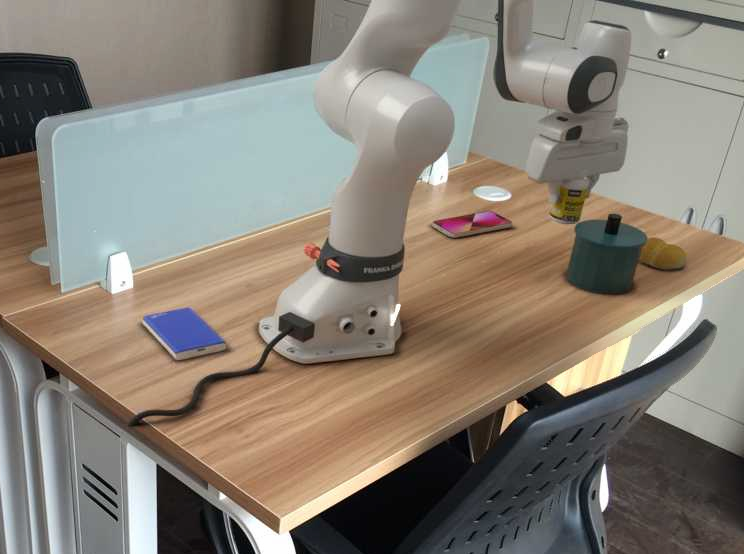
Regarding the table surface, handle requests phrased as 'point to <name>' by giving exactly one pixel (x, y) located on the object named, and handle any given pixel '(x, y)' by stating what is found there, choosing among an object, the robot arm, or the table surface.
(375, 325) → the robot arm
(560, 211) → the supplement bottle
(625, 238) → the pot lid
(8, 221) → the table surface
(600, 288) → the pot
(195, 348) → the hard drive
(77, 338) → the table surface
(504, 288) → the table surface
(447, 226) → the smartphone
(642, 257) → the bread roll
